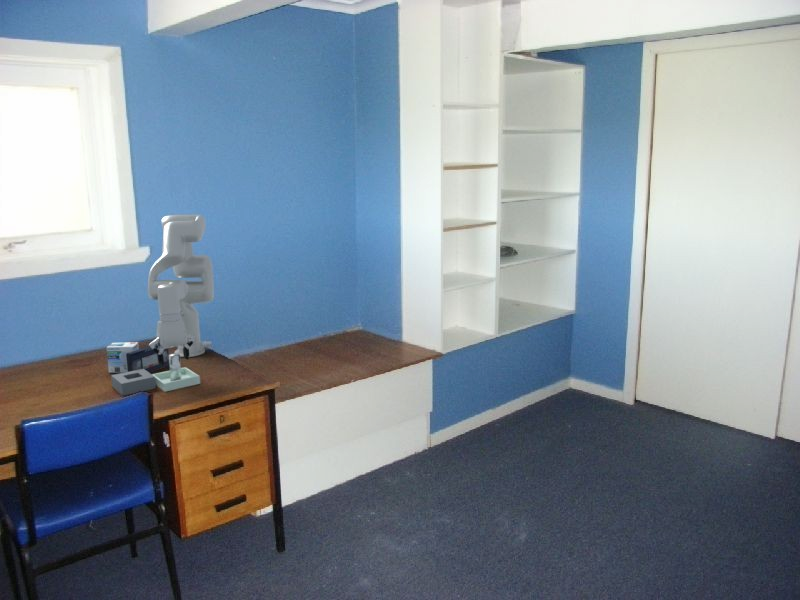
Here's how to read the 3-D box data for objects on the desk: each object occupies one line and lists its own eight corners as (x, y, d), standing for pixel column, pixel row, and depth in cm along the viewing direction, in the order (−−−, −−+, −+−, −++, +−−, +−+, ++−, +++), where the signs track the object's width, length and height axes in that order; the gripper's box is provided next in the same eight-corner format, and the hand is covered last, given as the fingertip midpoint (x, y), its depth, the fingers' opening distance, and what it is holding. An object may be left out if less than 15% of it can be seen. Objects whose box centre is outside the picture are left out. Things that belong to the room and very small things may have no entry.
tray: (186, 374, 269) (185, 367, 268) (200, 383, 258) (199, 375, 258) (151, 382, 260) (150, 374, 260) (164, 391, 250) (164, 383, 249)
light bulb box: (108, 373, 271) (105, 347, 269) (114, 367, 278) (112, 342, 275) (135, 372, 271) (133, 346, 269) (141, 367, 278) (138, 341, 276)
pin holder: (144, 379, 263) (143, 368, 262) (155, 388, 254) (154, 376, 253) (112, 386, 255) (111, 375, 254) (122, 395, 246) (121, 383, 245)
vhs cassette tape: (132, 378, 264) (129, 354, 262) (127, 377, 266) (124, 353, 264) (170, 366, 279) (168, 342, 277) (165, 364, 281) (163, 341, 279)
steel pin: (178, 378, 262) (177, 352, 260) (182, 380, 259) (181, 354, 257) (168, 380, 259) (167, 354, 258) (172, 382, 256) (170, 356, 255)
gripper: (188, 311, 262) (192, 354, 266) (143, 318, 251) (147, 363, 255) (196, 315, 256) (200, 359, 260) (150, 322, 245) (154, 368, 249)
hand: (174, 361), depth 257 cm, fingers open, 9 cm apart
